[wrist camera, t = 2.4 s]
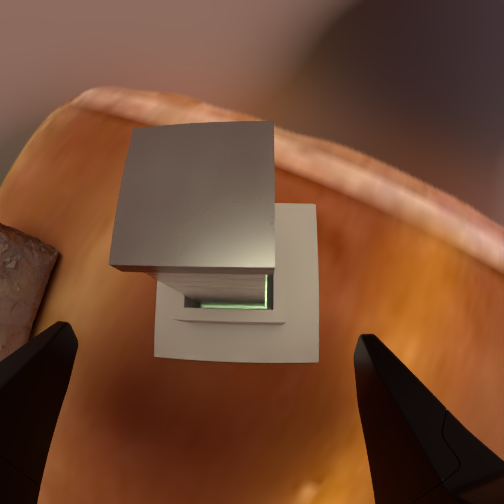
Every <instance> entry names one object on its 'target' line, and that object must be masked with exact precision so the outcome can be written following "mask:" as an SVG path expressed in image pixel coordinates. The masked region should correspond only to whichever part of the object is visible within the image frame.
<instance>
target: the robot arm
mask: <svg viewBox="0 0 504 504" xmlns="http://www.w3.org/2000/svg"><path fill="white" fill-rule="evenodd" d="M77 349H78V340H77V338H76V335H75V333H74V331H73V329H72V327H71V325H70V324H69V323H68V322H62V321H58V322H56V323H55V324H53V325H52V326H50V327H49V328H47V329H46V330H44V331H43V332H41V333H40V334H39V335H37V336H36V337H34V338H33V339H31V340H30V341H28V342H27V343H26V344H24V345H23V346H21V347H20V348H18V349H17V350H16V351H14V352H13V353H11V354H10V355H9V356H7V357H6V358H4V359H3V360H2V361H0V504H37V502H38V496H39V491H40V485H41V481H42V477H43V472H44V468H45V464H46V460H47V456H48V452H49V448H50V444H51V441H52V437H53V434H54V430H55V427H56V423H57V420H58V416H59V413H60V410H61V407H62V404H63V400H64V397H65V394H66V391H67V388H68V385H69V381H70V377H71V373H72V369H73V364H74V360H75V356H76V353H77ZM354 368H355V378H356V389H357V400H358V408H359V413H360V418H361V423H362V428H363V433H364V438H365V444H366V449H367V455H368V460H369V466H370V472H371V478H372V484H373V491H374V497H375V504H504V461H503V460H502V459H501V458H499V457H498V456H497V455H496V454H495V453H494V452H492V451H491V450H490V449H489V448H488V447H487V446H485V445H484V444H483V443H482V442H481V441H480V440H478V439H477V438H476V437H475V436H474V435H473V434H472V433H471V432H470V431H468V430H467V429H466V428H465V427H464V426H463V425H462V424H461V423H460V422H459V421H458V420H457V419H456V418H455V417H454V416H453V415H452V414H451V412H450V411H449V410H446V407H445V406H444V405H443V404H442V403H441V402H440V401H439V400H438V399H437V398H436V397H435V396H434V395H433V394H432V393H431V392H430V391H429V390H428V389H427V387H426V386H425V385H424V384H423V383H422V382H421V381H420V380H419V379H418V378H417V377H416V376H415V375H414V374H413V373H412V372H411V371H410V370H409V369H408V368H407V367H406V366H405V365H404V364H403V363H402V362H401V361H400V360H399V359H398V358H397V357H396V356H395V355H394V354H393V353H392V352H391V351H390V350H389V349H388V348H387V347H386V346H385V345H384V344H383V343H382V342H381V340H380V339H379V338H378V337H377V336H375V335H374V334H362V335H360V336H359V338H358V342H357V345H356V349H355V352H354Z"/></svg>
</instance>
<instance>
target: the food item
mask: <svg viewBox="0 0 504 504" xmlns="http://www.w3.org/2000/svg"><path fill="white" fill-rule="evenodd" d="M36 239H37V240H36ZM58 253H59V252H57V251H56V250H55V249H53V248H52V246H50V245H47V244H44V243H42V242H41V241H40V240H39V239H38V238H35V237H32V236H29V235H26V234H25V233H23V232H21V231H19V230H17V229H15V228H12V227H9V226H5V225H3V224H1V223H0V361H2V360H3V359H4V358H6V357H7V356H9V355H10V354H11V353H13V352H14V351H16V350H17V349H18V348H20V347H21V346H23V345H24V344H26V343H27V342H28V340H29V336H30V332H31V329H32V324H33V321H34V319H35V317H36V314H37V311H38V308H39V305H40V303H41V300H42V297H43V294H44V291H45V287H46V285H47V282H48V279H49V277H50V272H51V270H52V269H53V266H54V264H55V262H56V260H57V256H58Z"/></svg>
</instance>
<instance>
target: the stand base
mask: <svg viewBox="0 0 504 504" xmlns="http://www.w3.org/2000/svg"><path fill="white" fill-rule="evenodd" d="M154 357H162V358H174V359H187V360H202V361H221V362H250V363H309V362H319V281H318V246H317V223H316V204H289V203H275V270H274V275H267V310H251V309H210V308H202V307H201V304H199V303H198V302H196V301H194V300H192V299H190V298H188V297H186V296H185V295H183V294H181V293H179V292H177V291H176V290H174V289H172V288H170V287H168V286H167V285H165V284H163V283H161V282H160V281H157V296H156V313H155V336H154Z"/></svg>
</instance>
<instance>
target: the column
mask: <svg viewBox="0 0 504 504" xmlns="http://www.w3.org/2000/svg"><path fill="white" fill-rule="evenodd" d="M109 265H110V266H112V267H114V268H116V269H118V270H120V271H122V272H144V273H146V274H147V275H149V276H151V277H152V278H154V279H156V280H158V281H160V282H161V283H163V284H165V285H167V286H168V287H170V288H172V289H174V290H176V291H177V292H179V293H181V294H183V295H185V296H186V297H188V298H190V299H192V300H194V301H196V302H198V303H199V304H201V307H202V308H210V309H251V310H267V275H274V270H275V178H274V121H238V122H208V123H191V124H176V125H164V126H154V127H144V128H135V129H133V133H132V137H131V141H130V145H129V149H128V154H127V158H126V163H125V168H124V172H123V177H122V182H121V187H120V193H119V198H118V204H117V210H116V216H115V222H114V229H113V236H112V243H111V251H110V259H109Z"/></svg>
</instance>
